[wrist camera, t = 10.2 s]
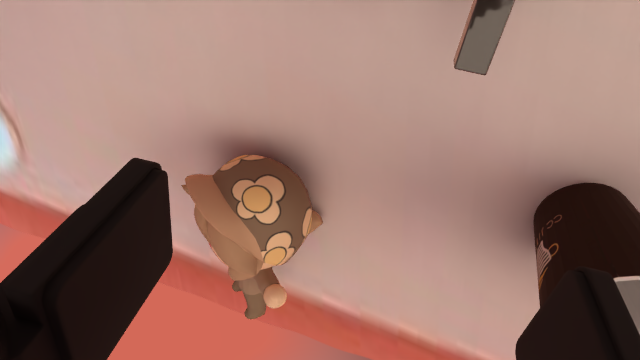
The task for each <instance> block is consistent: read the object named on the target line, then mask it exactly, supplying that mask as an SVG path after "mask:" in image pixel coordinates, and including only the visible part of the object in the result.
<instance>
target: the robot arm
mask: <svg viewBox="0 0 640 360" xmlns="http://www.w3.org/2000/svg"><path fill="white" fill-rule="evenodd" d="M172 253H173V248H172V233H171V218H170V203H169V189H168V176H167V173H166V171H162V169H161V166H160V164H158V163H155V162H151V161H147V160H143V159H139V158H133V159H131V160H130V161H129V162H128V163H127V164H126V165H125V166H124V167H123V168H122V169H121V170H120V171H119V172H118V173H117V174H116V175H115V176H114V177H113V178H112V179H111V180H110V181H109V182H107V183H106V184H105V185H104V186H103V187H102V188H101V189H100V190H99V191H98V192H97V193H96V194H95V195H94V196H93V197H92V198H91V199H90V200H89V201H88V202H87V203H86V204H84V205H82V206H81V207H79V208H78V209H77V210H76V211H75V212H74V213H73V214H71V215H70V216H69V217H68V218H67V219H66V220H65V221H64V222H63V223H62V224H61V225H60V226H59V227H58V228H57V229H56V230H55V231H54V232H53V233H52V234H51V235H50V236H49V237H48V238H47V239H46V240H45V241H44V242H42V243H41V244H40V246H39V247H37V248H36V249H35V250H34V251H33V252H32V253H31V254H30V255H29V256H28V257H27V258H26V259H25V260H24V261H23V262H22V263H21V264H20V265H19V266H18V267H17V268H16V269H15V270H14V271H12V273H11V274H9V275H8V276H7V277H6V278H5V279H4V280H3V281H2V282H1V283H0V360H107V358H108V357H109V355H110V354H111V352H112V351H113V349H114V348H115V346H116V345H117V343H118V341H119V340H120V338H121V337H122V335H123V334H124V332H125V331H126V329H127V328H128V326H129V325H130V323H131V321H132V320H133V319H134V317H135V315H136V314H137V312H138V311H139V309H140V308H141V306H142V305H143V303H144V302H145V300H146V299H147V297H148V296H149V294H150V293H151V291H152V289H153V288H154V286H155V285H156V283H157V282H158V280H159V279H160V277H161V276H162V274H163V273H164V271H165V270H166V268H167V267H168V265H169V263H170V261H171V258H172ZM515 353H516V360H640V334H639V332H638V330H637V328H636V325H635V323H634V321H633V319H632V317H631V315H630V313H629V310H628V308H627V306H626V304H625V302H624V300H623V298H622V296H621V293H620V291H619V289H618V287H617V285H616V283H615V281H614V278H613V277H612V275H611V274H610V273H608V272H605V271H601V270H597V269H592V268H588V267H584V266H579V267H577V268H575V269H574V270H568V271H567V272H566V273H565V274H564V275H563V277H562V278H561V279H560V281H559V282H558V284H557V285H556V287H555V288H554V289H553V291H552V292H551V294H550V295H549V296H548V298H547V299H546V301H545V302H544V304H543V305H542V306H541V308H540V309H539V311H538V312H537V313H536V315H535V316H534V318H533V319H532V321H531V322H530V323H529V325H528V326H527V328H526V329H525V330H524V332H523V333H522V335H521V336H520V337H519V339H518V341H517V344H516V350H515Z"/></svg>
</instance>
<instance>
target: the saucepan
mask: <svg viewBox="0 0 640 360" xmlns="http://www.w3.org/2000/svg"><path fill="white" fill-rule="evenodd" d="M514 2H515V0H474V1H473V4H472V7H471V10H470V13H469V16H468V18H467V21H466V24H465V27H464V30H463V33H462V36H461V39H460V42H459V45H458V48H457V51H456V54H455V57H454V68H455V69H458V70H463V71H467V72H472V73H476V74H481V75H486V74H487V71H488V69H489V66H490V64H491V61H492V58H493V56H494V53H495V51H496V48H497V46H498V43H499V40H500V38H501V35H502V33H503V30H504V28H505V25H506V22H507V20H508V17H509V15H510V12H511V10H512V7H513V4H514Z"/></svg>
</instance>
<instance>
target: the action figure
mask: <svg viewBox="0 0 640 360" xmlns="http://www.w3.org/2000/svg"><path fill="white" fill-rule="evenodd" d="M185 182H186V185H181V186H182V187H183V189H184V190H185V191H186V193H188V194H189V195H190V196H191V198H192V200H193V201H194V203H195V209H194V215H195V220H196V223H197V225H198V227H199V229H200V231H201V232H202V234H203V235H204V237H205V238H206V239H207V241H208V242H209V245H210V247H211V248H212V250H213V252H214V253H215V254H216V256H217V257H218V258H219V259H220V260H221V262H223V263H224V264H225V265H227V266H228V267H229V268H228V272H229V275H230V277H231V279H232V280H235V281H234V283H233V285H232V288H233V290H234V291H243V294H244V296H245V299H246V302H247V305H248V307H247V309H246V311H245V316H246V317H247V318H248V319H255V318H258V317H260V316H262V315H264V314H265V311H266V305H267V306H268V307H270V308H279V307H281V306H282V305H283V304H284V303H285V301H286V298H287V295H286V291H285V289H284V288H283V287H282V286H281V285H280V284H279V281H278V279H277V277H276V276H275V274H274V273H273V270H272V266H274V265H276V266H277V265H282V264H284V263H286V262H287V261H288V260H289V259H290V258H291V257H292V256H293V255H294V254H295V253H296V251H297V250H298V249H299V247H300V246H301V245H302V243H303V242H304V240H305V238H306V237H307V235H308V234H309V233H311V232H313V231H314V230H315V229H316V228H317V227H318V226H320V225H321V224H322V223H323V222H322V219H321V217H320V215H319V214H318V213H317V212H315V211H313V210H312V206H311V201H310V198H309V194H308V191H307V189H306V187H305V186H304V184H303V182H302V181H301V179H300V178H299V176H298V175H296V174H295V173H294V172H293V171H292V170H291V169H290V168H289V167H288V166H286V165H284V164H281V163H279V162H277V161H275V160H274V159H271V158H266V157H262V156H258V155H243V156H239V157H237V158H235V159H233V160H231V161H228V162H227V163H226V164H225V165H224V166H222V167H221V168H220V169H219V170H218V171H217V172H216V173H215V174H214V175H203V174H196V175H190V176H187V177H186V178H185Z"/></svg>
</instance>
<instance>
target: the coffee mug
mask: <svg viewBox="0 0 640 360" xmlns="http://www.w3.org/2000/svg"><path fill="white" fill-rule="evenodd" d="M534 234H535V247H536V260H537V273H538V286H539V299H540V308H541V306H542V305H543V304H544V302H545V301H546V299H547V298H548V296H549V295H550V294H551V292H552V291H553V289H554V288H555V287H556V285H557V284H558V282H559V281H560V279H561V278H562V277H563V275H564V274H565V273H566V272H567V271H568V270H574V269H575V268H577V267H579V266H584V267H588V268H592V269H597V270H601V271H605V272H608V273H610V274H611V275H612V277H613V278H614V281H615V283H616V285H617V287H618V289H619V291H620V293H621V296H622V298H623V300H624V302H625V304H626V306H627V308H628V310H629V313H630V315H631V317H632V319H633V321H634V323H635V325H636V328H637V330H638V332H639V334H640V213H639V212H638V211H637V209H636V208H635V207H634V206H633V205H632V204H631V203H630V201H629V200H628V199H627V198H626V197H625V196H624V195H623V194H622V193H621V192H619V191H618V190H616V189H614V188H612V187H609V186H606V185H602V184H596V183H582V184H575V185H571V186H567V187H564V188H562V189H560V190H557V191H555V192H554V193H552V194H551V195H549V196H548V197H547V198H545V199H544V200H543V201H542V202H541V204H540V205H539V206H538V208H537V210H536V212H535V215H534Z"/></svg>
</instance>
